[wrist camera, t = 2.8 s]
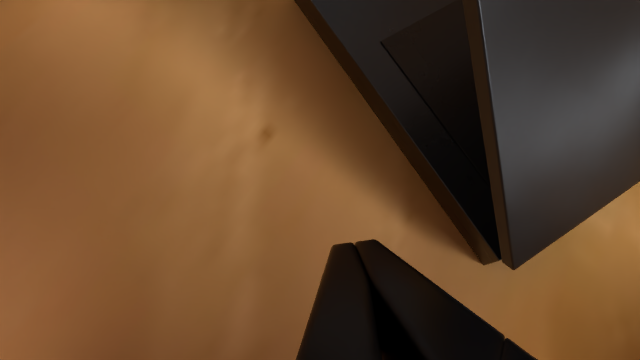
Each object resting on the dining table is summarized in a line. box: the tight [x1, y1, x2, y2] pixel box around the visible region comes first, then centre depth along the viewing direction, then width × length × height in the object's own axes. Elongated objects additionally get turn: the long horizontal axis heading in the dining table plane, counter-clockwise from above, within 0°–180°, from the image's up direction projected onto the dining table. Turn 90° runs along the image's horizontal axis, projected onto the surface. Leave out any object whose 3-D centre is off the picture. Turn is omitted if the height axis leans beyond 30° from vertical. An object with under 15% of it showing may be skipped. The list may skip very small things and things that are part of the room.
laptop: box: [295, 0, 502, 265], centre depth 25 cm, size 17×21×2 cm
